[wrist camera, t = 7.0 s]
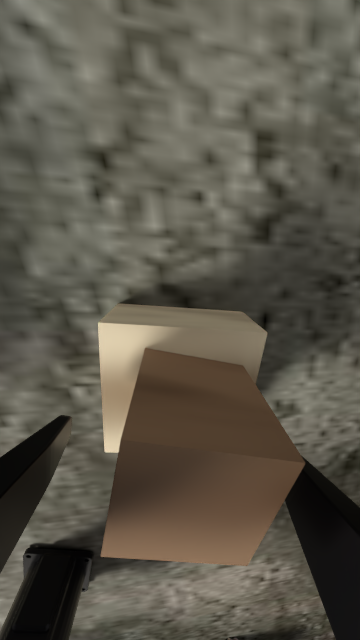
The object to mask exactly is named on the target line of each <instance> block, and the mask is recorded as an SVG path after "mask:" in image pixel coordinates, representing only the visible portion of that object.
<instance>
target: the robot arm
mask: <svg viewBox="0 0 360 640" xmlns="http://www.w3.org/2000/svg"><path fill="white" fill-rule="evenodd" d="M71 426H72V417H70V416H65V415H61V416H59V417H57V418H56V419H54V420H53V421H52V422H50V423H49V424H47V425H46V426H44V427H43V428H42V429H40V430H39V431H37V432H36V433H34V434H33V435H32V436H30V437H29V438H27V439H26V440H24V441H23V442H22V443H20V444H19V445H17V446H16V447H14V448H13V449H12V450H10V451H9V452H7V453H6V454H4V455H3V456H2V457H0V573H1V571H2V569H3V567H4V566H5V564H6V562H7V560H8V558H9V556H10V555H11V553H12V551H13V549H14V547H15V546H16V544H17V542H18V540H19V538H20V536H21V535H22V533H23V531H24V529H25V527H26V526H27V524H28V522H29V520H30V518H31V516H32V515H33V513H34V511H35V509H36V507H37V505H38V504H39V502H40V500H41V498H42V496H43V495H44V493H45V491H46V489H47V487H48V485H49V483H50V481H51V479H52V477H53V475H54V472H55V470H56V468H57V465H58V463H59V461H60V459H61V456H62V454H63V452H64V449H65V447H66V445H67V443H68V440H69V438H70V435H71ZM302 458H303V460H304V461H305V465H304V467H303V469H302V470H301V472H300V474H299V476H298V478H297V479H296V481H295V483H294V485H293V486H292V488H291V490H290V492H289V493H288V495H287V497H286V499H285V502H286V505H287V508H288V511H289V514H290V516H291V519H292V522H293V525H294V527H295V530H296V533H297V535H298V538H299V541H300V544H301V546H302V549H303V552H304V554H305V557H306V560H307V562H308V565H309V568H310V571H311V573H312V576H313V579H314V581H315V584H316V587H317V590H318V592H319V595H320V598H321V600H322V603H323V606H324V608H325V611H326V614H327V617H328V619H329V622H330V625H331V627H332V630H333V633H334V636H335V638H336V640H360V507H358V506H357V505H356V504H355V503H354V502H353V501H352V500H351V499H349V498H348V497H347V496H346V495H345V494H344V493H343V492H342V491H341V490H339V489H338V488H337V487H336V486H335V485H334V484H333V483H332V482H330V481H329V480H328V479H327V478H326V477H325V476H324V475H323V474H322V473H320V472H319V471H318V470H317V469H316V468H315V467H314V466H313V465H311V464H310V463H309V462H308V461H307V460H306V459H305V458H304V457H302ZM92 560H93V554H92V553H91V552H83V551H69V550H54V549H40V548H28V549H26V551H25V553H24V555H23V565H24V580H23V582H22V584H21V587H20V589H19V591H18V593H17V596H16V598H15V600H14V602H13V604H12V607H11V609H10V611H9V613H8V615H7V618H6V620H5V622H4V624H3V626H2V629H1V631H0V640H69V636H70V632H71V628H72V625H73V621H74V617H75V613H76V610H77V606H78V602H79V598H80V595H81V592H85V591H87V590H88V586H89V580H90V573H91V567H92Z"/></svg>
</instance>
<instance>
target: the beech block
mask: <svg viewBox="0 0 360 640" xmlns="http://www.w3.org/2000/svg"><path fill="white" fill-rule="evenodd" d="M98 332H99V351H100V371H101V390H102V409H103V429H104V448H105V452H116V453H118V452H119V446H120V441H121V437H122V433H123V429H124V425H125V422H126V418H127V414H128V410H129V407H130V403H131V399H132V395H133V391H134V388H135V384H136V380H137V376H138V373H139V369H140V365H141V361H142V358H143V354H144V350H145V348H149V349H154V350H160V351H165V352H171V353H177V354H182V355H188V356H193V357H199V358H205V359H210V360H216V361H221V362H227V363H233V364H238V365H243V366H244V368H245V369H246V371H247V372H248V374H249V375H250V377H251V379H252V380H253V382H254V383H255V385H256V381H257V377H258V372H259V368H260V364H261V359H262V355H263V351H264V346H265V342H266V338H267V332H266V331H265V330H264V329H263V328H261V327H260V326H259V325H258V324H257V323H255V322H254V321H253V320H252V319H251V318H249V317H248V316H247V315H246V314H245V313H243V312H240V311H225V310H210V309H195V308H179V307H164V306H149V305H134V304H119V303H118V304H117V305H116V306H115V307H114V308H113V309H112V310H111V311H110V312H109V313H108V314H106V315H105V316H104V317H103V318H102V319H101V320H100V321H99V322H98Z"/></svg>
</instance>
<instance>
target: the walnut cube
mask: <svg viewBox="0 0 360 640" xmlns="http://www.w3.org/2000/svg"><path fill="white" fill-rule="evenodd" d="M304 465H305V461H304V460H303V458H302V456H301V455H300V453H299V452H298V450H297V449H296V447H295V446H294V444H293V442H292V441H291V439H290V438H289V436H288V435H287V433H286V432H285V430H284V428H283V427H282V425H281V424H280V422H279V421H278V419H277V417H276V416H275V414H274V413H273V411H272V410H271V408H270V407H269V405H268V403H267V402H266V400H265V399H264V397H263V396H262V394H261V393H260V391H259V389H258V388H257V386H256V385H255V383H254V382H253V380H252V379H251V377H250V375H249V374H248V372H247V371H246V369H245V368H244V366H243V365H238V364H233V363H227V362H221V361H216V360H210V359H205V358H199V357H193V356H188V355H182V354H177V353H171V352H165V351H160V350H154V349H149V348H145V350H144V354H143V358H142V361H141V365H140V369H139V373H138V376H137V380H136V384H135V388H134V391H133V395H132V399H131V403H130V407H129V410H128V414H127V418H126V422H125V425H124V429H123V433H122V437H121V441H120V446H119V452H118V458H117V464H116V470H115V475H114V481H113V487H112V493H111V499H110V504H109V510H108V516H107V522H106V527H105V533H104V539H103V545H102V551H101V556H100V557H112V558H128V559H144V560H161V561H177V562H193V563H209V564H225V565H241V566H247V565H248V564H249V562H250V560H251V558H252V556H253V555H254V553H255V551H256V549H257V548H258V546H259V544H260V542H261V541H262V539H263V537H264V535H265V534H266V532H267V530H268V528H269V527H270V525H271V523H272V521H273V520H274V518H275V516H276V514H277V513H278V511H279V509H280V507H281V506H282V504H283V502H284V500H285V499H286V497H287V495H288V493H289V492H290V490H291V488H292V486H293V485H294V483H295V481H296V479H297V478H298V476H299V474H300V472H301V470H302V469H303V467H304Z"/></svg>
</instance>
